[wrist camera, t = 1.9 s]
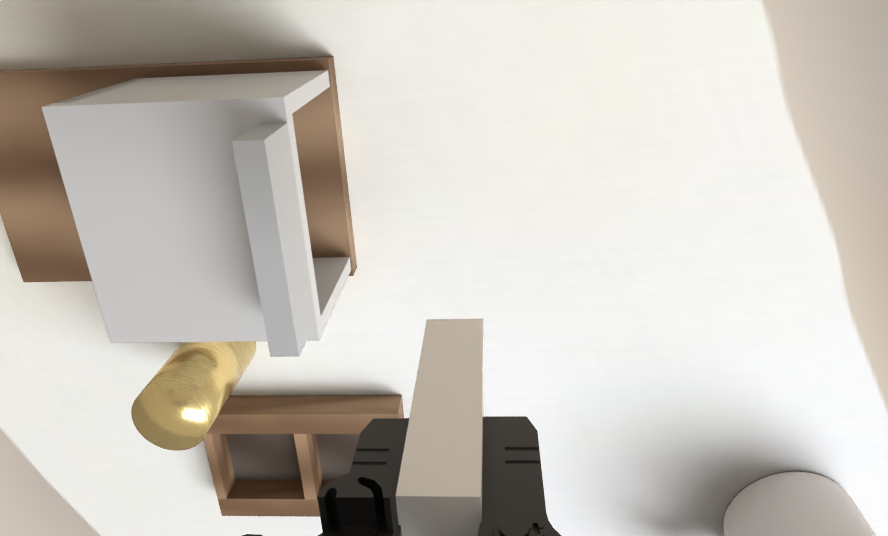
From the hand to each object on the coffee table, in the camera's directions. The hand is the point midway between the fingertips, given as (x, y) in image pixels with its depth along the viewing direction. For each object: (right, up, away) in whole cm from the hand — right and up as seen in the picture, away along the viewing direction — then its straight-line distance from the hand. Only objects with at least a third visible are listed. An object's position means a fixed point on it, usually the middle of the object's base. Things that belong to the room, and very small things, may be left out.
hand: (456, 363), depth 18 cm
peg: (-14, -2, +24) cm, 28 cm away
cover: (-11, +7, +18) cm, 22 cm away
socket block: (-9, -10, +27) cm, 30 cm away
